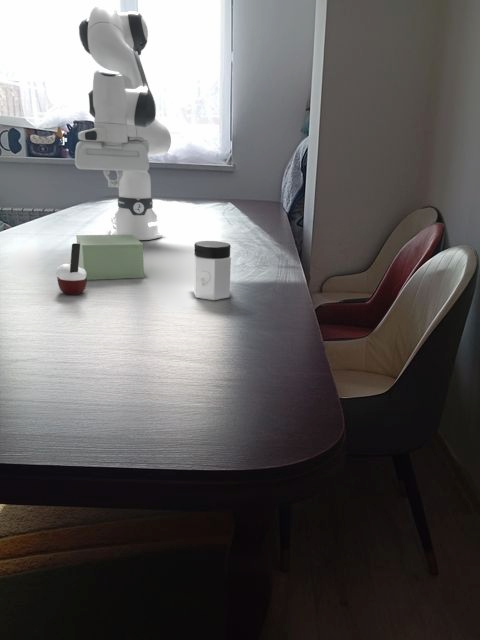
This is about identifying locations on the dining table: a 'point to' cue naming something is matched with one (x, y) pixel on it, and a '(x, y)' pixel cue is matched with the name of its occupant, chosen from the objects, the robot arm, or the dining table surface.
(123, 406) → the dining table surface
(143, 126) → the robot arm
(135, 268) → the pale green box
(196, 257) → the jar
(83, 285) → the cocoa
